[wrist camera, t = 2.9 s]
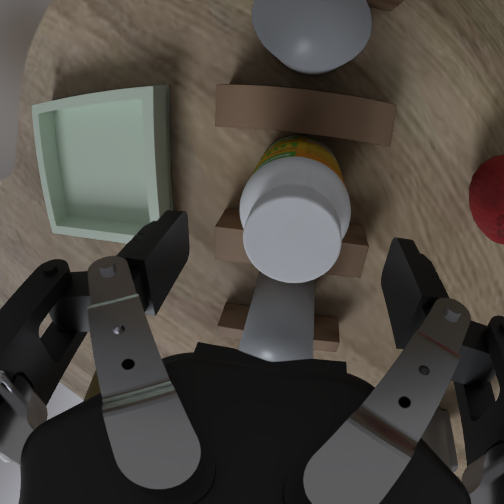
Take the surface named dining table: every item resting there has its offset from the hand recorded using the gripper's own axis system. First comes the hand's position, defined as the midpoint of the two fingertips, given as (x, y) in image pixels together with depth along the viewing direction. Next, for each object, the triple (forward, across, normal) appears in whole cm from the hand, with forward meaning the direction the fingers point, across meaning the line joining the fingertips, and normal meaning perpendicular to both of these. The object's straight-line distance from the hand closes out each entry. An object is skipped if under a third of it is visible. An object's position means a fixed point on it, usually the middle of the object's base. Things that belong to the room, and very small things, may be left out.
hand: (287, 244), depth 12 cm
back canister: (+10, 0, +9) cm, 14 cm away
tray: (+10, +15, 0) cm, 18 cm away
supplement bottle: (+10, 0, 0) cm, 10 cm away
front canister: (+10, 0, -9) cm, 13 cm away
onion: (+10, -14, -2) cm, 18 cm away
